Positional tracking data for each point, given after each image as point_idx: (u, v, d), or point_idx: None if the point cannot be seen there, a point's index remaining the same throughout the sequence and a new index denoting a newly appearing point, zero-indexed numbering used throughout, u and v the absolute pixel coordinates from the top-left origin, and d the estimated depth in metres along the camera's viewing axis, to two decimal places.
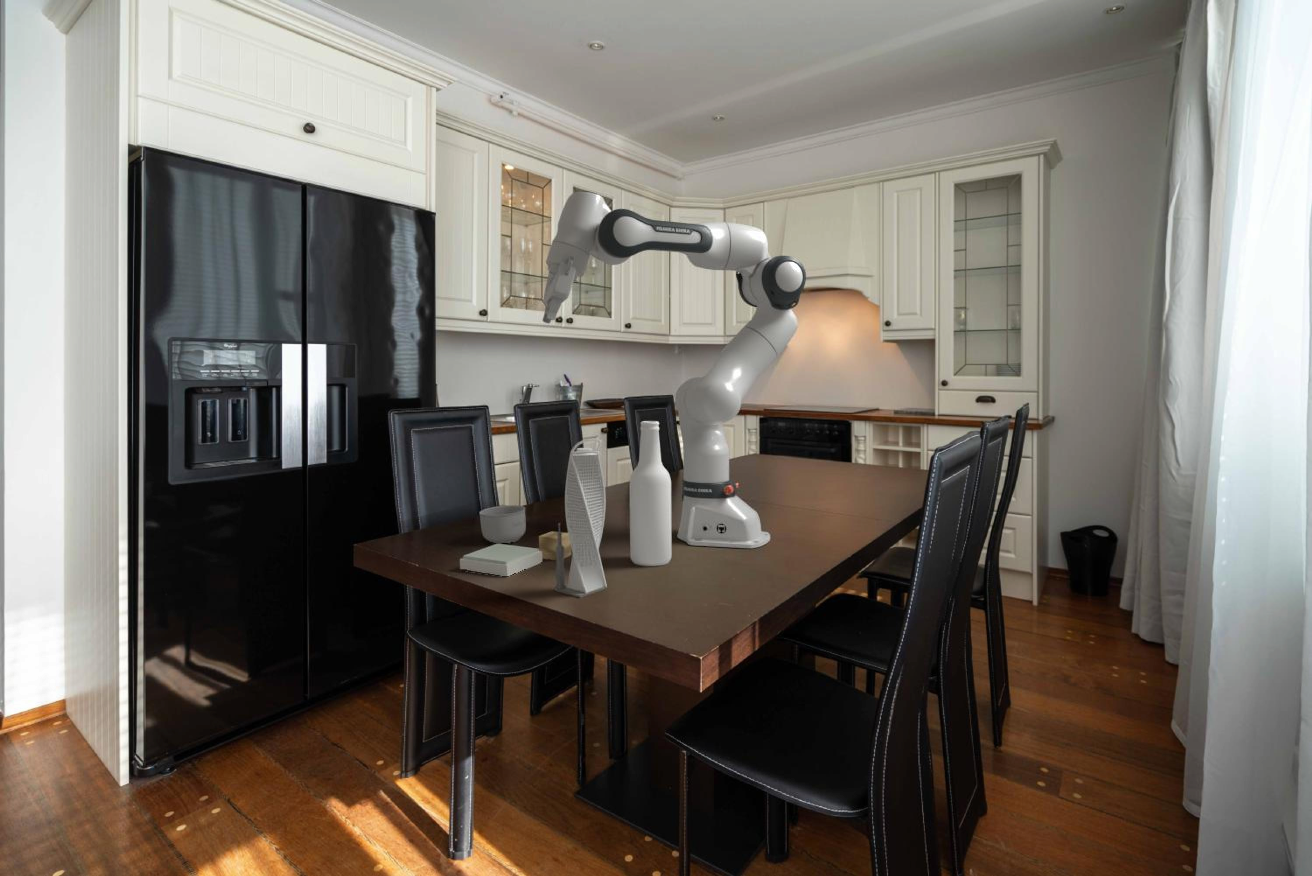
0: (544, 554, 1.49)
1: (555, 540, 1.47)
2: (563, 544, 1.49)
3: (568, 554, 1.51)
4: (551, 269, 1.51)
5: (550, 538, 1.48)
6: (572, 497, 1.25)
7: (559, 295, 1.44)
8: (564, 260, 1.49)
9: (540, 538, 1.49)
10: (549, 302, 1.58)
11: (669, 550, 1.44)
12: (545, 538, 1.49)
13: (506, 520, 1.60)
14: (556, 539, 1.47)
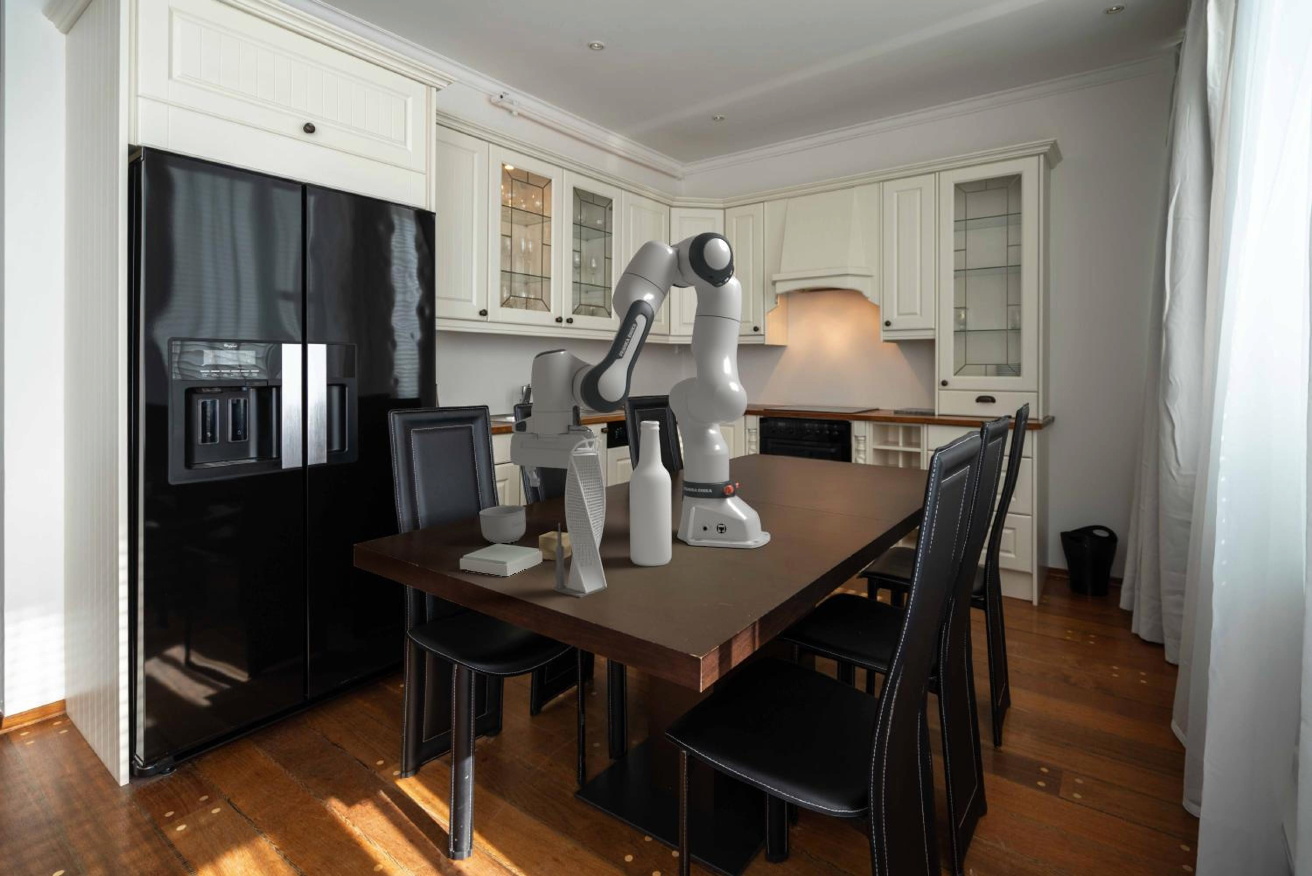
0: (544, 553, 1.49)
1: (555, 540, 1.47)
2: (563, 544, 1.49)
3: (568, 554, 1.51)
4: (550, 439, 1.45)
5: (550, 538, 1.48)
6: (572, 497, 1.25)
7: None
8: (566, 428, 1.46)
9: (540, 538, 1.49)
10: None
11: (669, 550, 1.44)
12: (545, 538, 1.49)
13: (506, 520, 1.60)
14: (556, 539, 1.47)
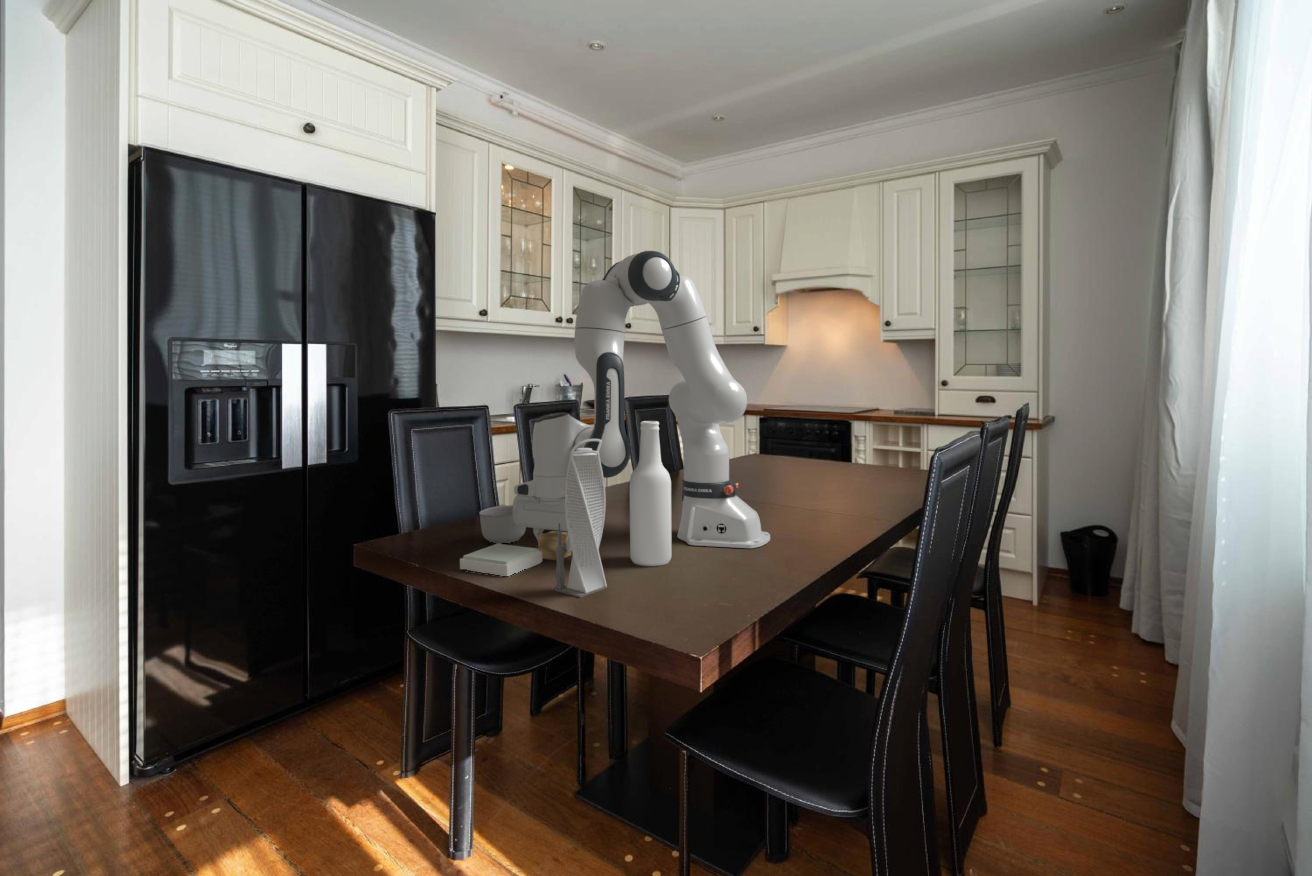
0: (544, 553, 1.49)
1: (555, 540, 1.47)
2: None
3: (568, 554, 1.51)
4: (552, 503, 1.47)
5: (550, 538, 1.48)
6: (572, 497, 1.25)
7: None
8: None
9: (540, 538, 1.49)
10: None
11: (669, 550, 1.44)
12: (545, 538, 1.48)
13: (506, 520, 1.60)
14: (556, 539, 1.47)
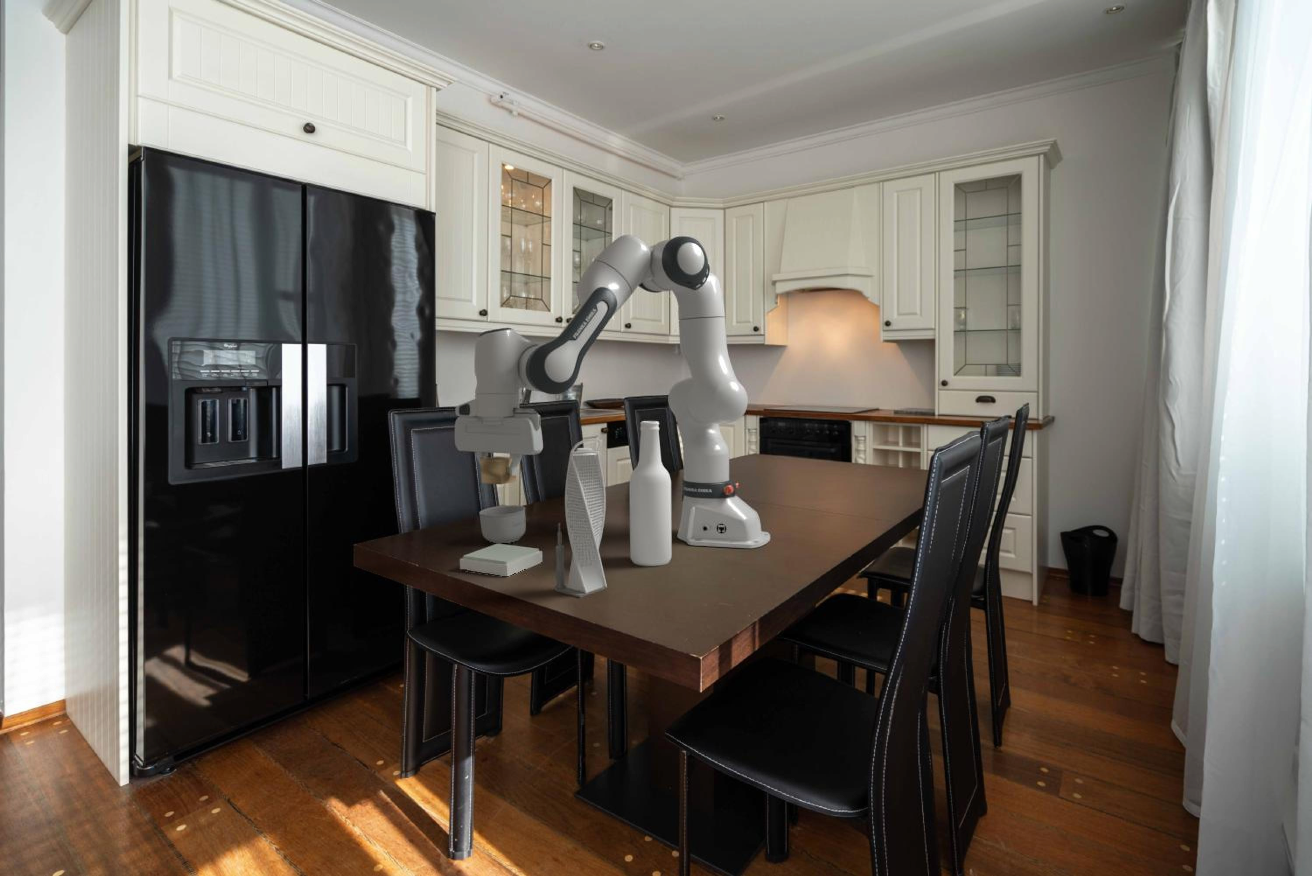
0: (486, 477, 1.40)
1: (497, 462, 1.38)
2: None
3: (512, 479, 1.42)
4: (494, 423, 1.38)
5: (492, 460, 1.39)
6: (572, 497, 1.25)
7: (536, 453, 1.37)
8: (511, 411, 1.38)
9: (482, 461, 1.40)
10: None
11: (669, 550, 1.44)
12: (487, 460, 1.39)
13: (506, 520, 1.60)
14: (498, 461, 1.38)
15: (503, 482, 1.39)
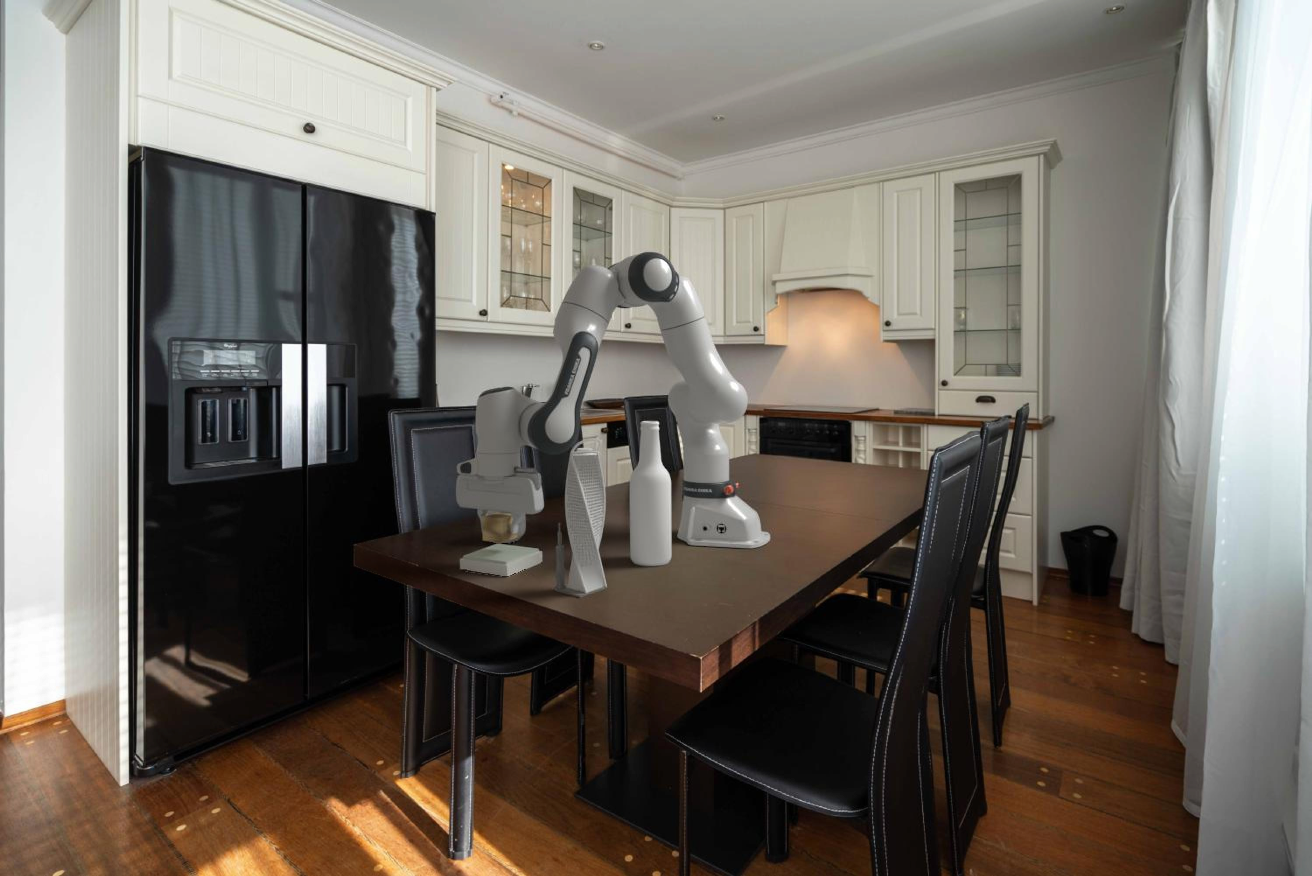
0: (487, 535, 1.41)
1: (499, 521, 1.39)
2: None
3: (513, 536, 1.43)
4: (495, 482, 1.39)
5: (493, 518, 1.40)
6: (572, 497, 1.25)
7: (537, 512, 1.38)
8: (512, 470, 1.39)
9: (483, 519, 1.41)
10: None
11: (669, 550, 1.44)
12: (488, 518, 1.41)
13: None
14: (500, 519, 1.39)
15: (504, 540, 1.40)
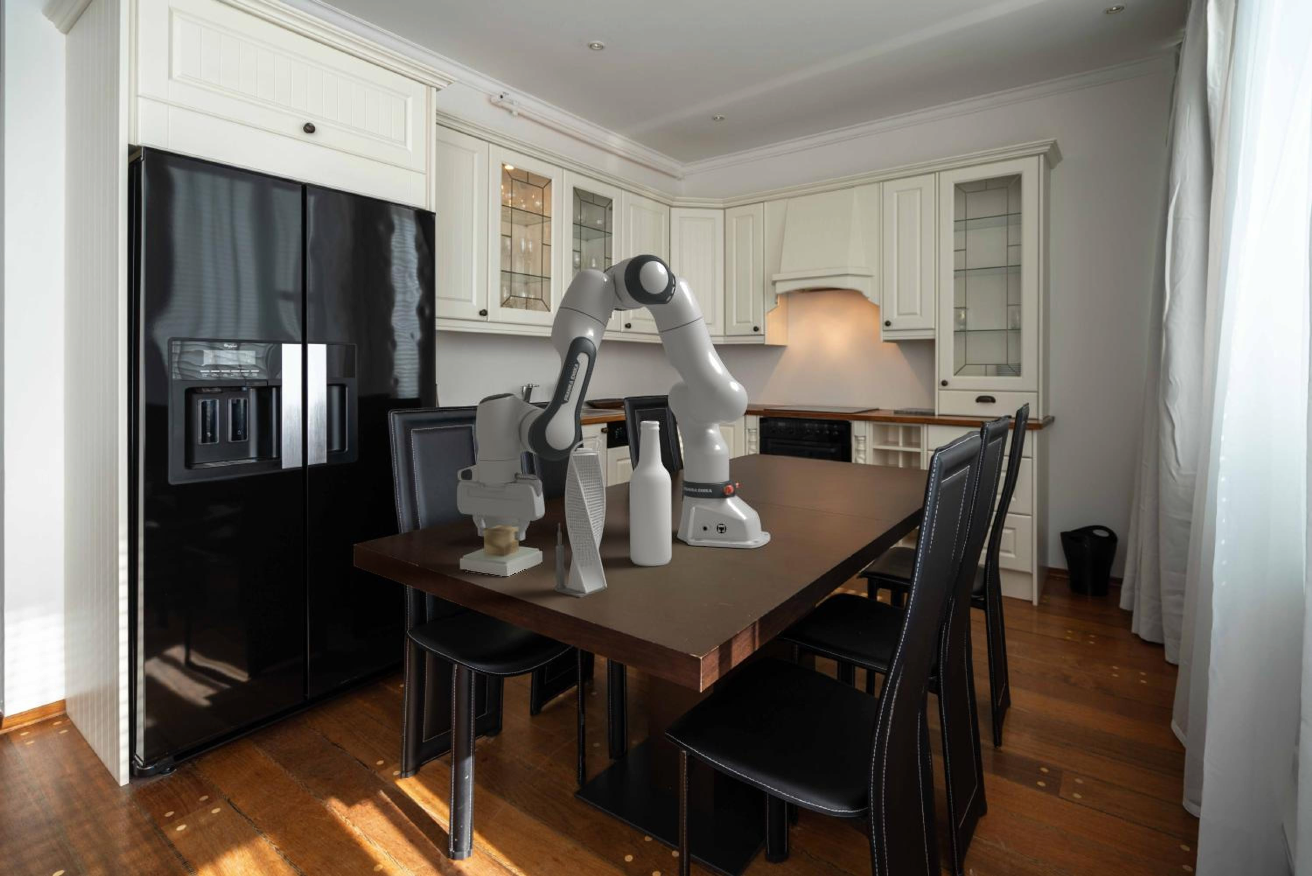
0: (489, 548, 1.41)
1: (500, 534, 1.40)
2: (509, 538, 1.41)
3: (515, 549, 1.43)
4: (496, 488, 1.39)
5: (495, 532, 1.40)
6: (572, 497, 1.25)
7: (538, 518, 1.38)
8: (513, 477, 1.39)
9: (485, 532, 1.41)
10: None
11: (669, 550, 1.44)
12: (490, 532, 1.41)
13: (506, 520, 1.60)
14: (501, 533, 1.40)
15: (506, 553, 1.41)
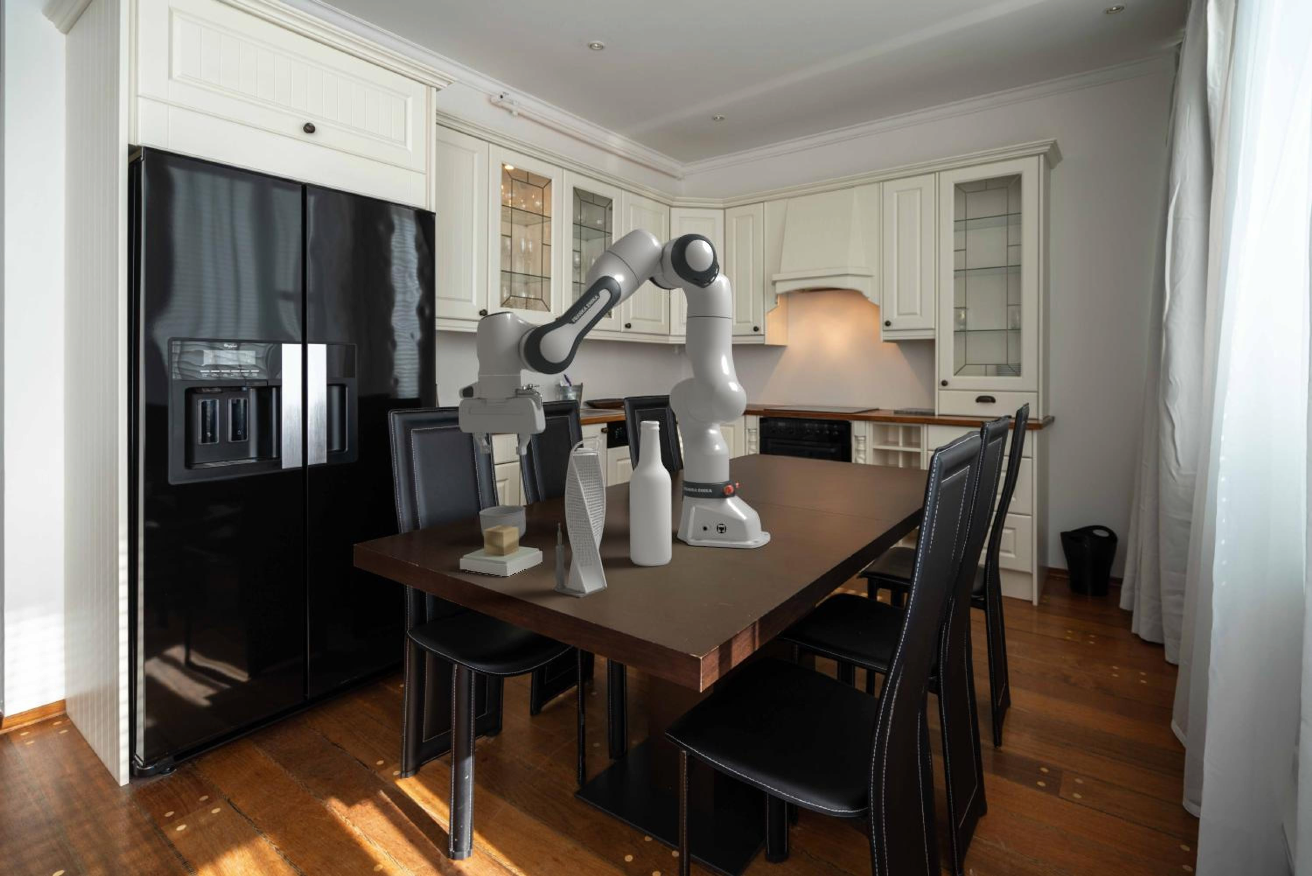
0: (489, 548, 1.41)
1: (500, 534, 1.40)
2: (509, 538, 1.41)
3: (515, 549, 1.43)
4: (497, 404, 1.42)
5: (495, 532, 1.40)
6: (572, 497, 1.25)
7: (539, 432, 1.42)
8: (514, 392, 1.42)
9: (485, 532, 1.41)
10: None
11: (669, 550, 1.44)
12: (490, 532, 1.41)
13: (506, 520, 1.60)
14: (501, 533, 1.40)
15: (506, 553, 1.41)
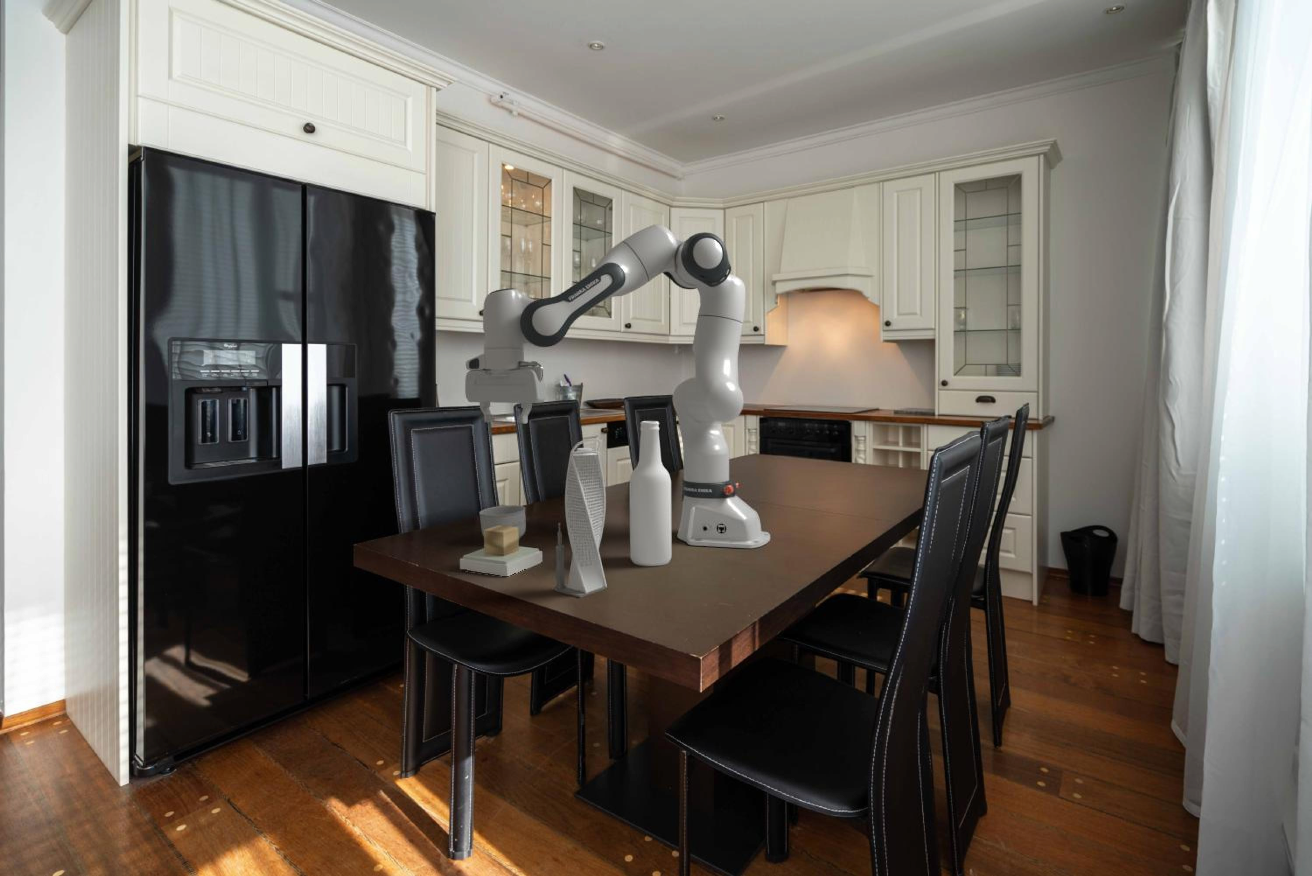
0: (489, 548, 1.41)
1: (500, 534, 1.40)
2: (509, 538, 1.41)
3: (515, 549, 1.43)
4: (501, 375, 1.52)
5: (495, 532, 1.40)
6: (572, 497, 1.25)
7: (540, 401, 1.51)
8: (517, 364, 1.52)
9: (485, 532, 1.41)
10: (485, 402, 1.57)
11: (669, 550, 1.44)
12: (490, 532, 1.41)
13: (506, 520, 1.60)
14: (501, 533, 1.40)
15: (506, 553, 1.41)
